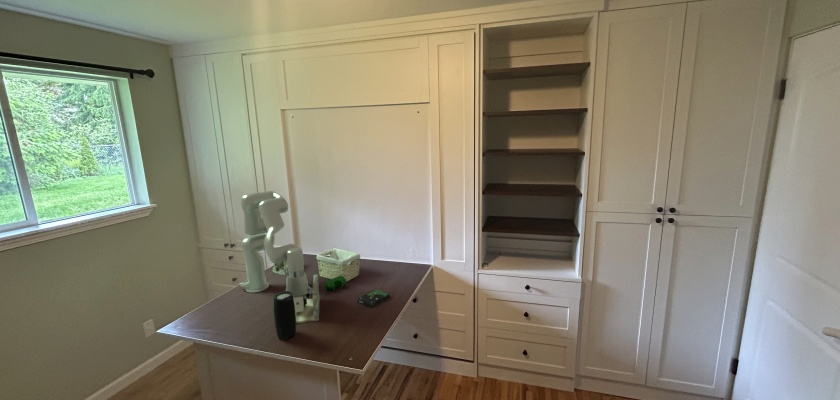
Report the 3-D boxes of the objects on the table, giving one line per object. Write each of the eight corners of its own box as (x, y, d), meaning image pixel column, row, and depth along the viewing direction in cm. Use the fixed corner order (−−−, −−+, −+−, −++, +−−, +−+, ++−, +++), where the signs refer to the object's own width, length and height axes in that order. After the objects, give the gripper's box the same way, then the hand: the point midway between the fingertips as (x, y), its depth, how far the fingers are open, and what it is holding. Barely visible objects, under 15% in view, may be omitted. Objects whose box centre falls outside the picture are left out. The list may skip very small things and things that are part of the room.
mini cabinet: (292, 313, 164) (291, 300, 162) (294, 304, 173) (293, 291, 172) (303, 312, 165) (302, 299, 164) (304, 302, 175) (303, 290, 173)
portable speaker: (288, 327, 156) (284, 288, 152) (301, 333, 151) (298, 293, 147) (271, 336, 149) (267, 296, 145) (285, 343, 144) (281, 301, 140)
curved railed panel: (276, 326, 157) (273, 297, 154) (282, 304, 178) (279, 278, 175) (318, 320, 162) (316, 292, 159) (319, 299, 183) (317, 274, 180)
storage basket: (316, 276, 213) (315, 254, 211) (335, 267, 227) (334, 247, 224) (343, 284, 201) (342, 261, 198) (362, 275, 214) (361, 253, 211)
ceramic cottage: (273, 267, 228) (272, 246, 224) (299, 265, 232) (298, 245, 229) (270, 278, 213) (268, 256, 210) (297, 275, 218) (296, 254, 214)
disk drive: (370, 309, 173) (390, 298, 184) (370, 304, 172) (389, 293, 184) (357, 303, 179) (376, 292, 191) (356, 298, 178) (376, 288, 190)
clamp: (332, 298, 193) (327, 288, 187) (326, 293, 197) (322, 283, 191) (349, 285, 199) (345, 275, 193) (343, 280, 202) (339, 270, 197)
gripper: (276, 277, 160) (280, 312, 164) (313, 273, 165) (316, 307, 168) (278, 271, 167) (282, 305, 171) (314, 267, 172) (316, 300, 175)
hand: (299, 306), depth 169 cm, fingers closed on mini cabinet, 5 cm apart
